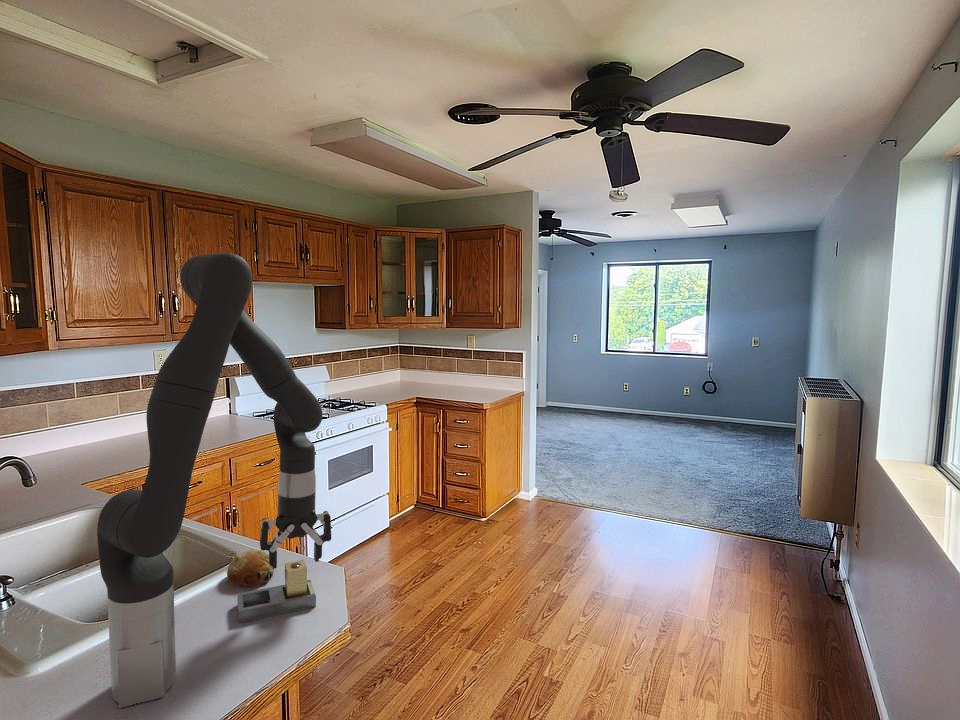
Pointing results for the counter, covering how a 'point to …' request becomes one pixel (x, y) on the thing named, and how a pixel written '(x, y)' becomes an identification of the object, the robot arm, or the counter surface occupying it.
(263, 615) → the grey block holder
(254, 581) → the bread roll
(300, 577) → the tall beige wooden block
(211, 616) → the counter surface
